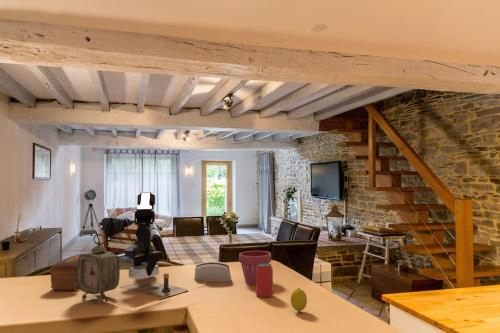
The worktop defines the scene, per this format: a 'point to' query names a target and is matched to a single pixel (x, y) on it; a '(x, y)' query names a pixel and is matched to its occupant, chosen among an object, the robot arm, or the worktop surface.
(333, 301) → the worktop surface
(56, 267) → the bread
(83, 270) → the tabletop clock
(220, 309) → the worktop surface
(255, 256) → the plant pot
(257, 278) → the beer can
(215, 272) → the grey rounded block
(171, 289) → the board
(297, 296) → the lemon
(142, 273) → the hollow metal box
